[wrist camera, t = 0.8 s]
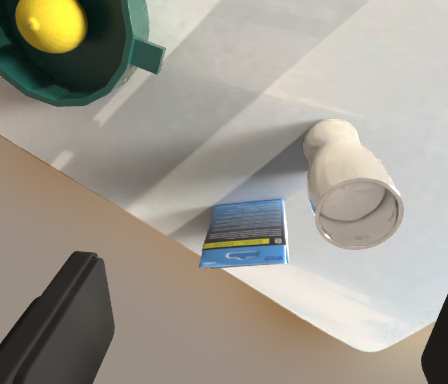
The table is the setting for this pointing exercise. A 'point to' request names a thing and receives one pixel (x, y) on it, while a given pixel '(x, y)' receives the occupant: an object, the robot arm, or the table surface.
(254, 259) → the label tape box
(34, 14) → the lemon
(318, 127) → the beer glass
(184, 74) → the table surface
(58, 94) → the pot
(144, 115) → the table surface
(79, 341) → the robot arm
